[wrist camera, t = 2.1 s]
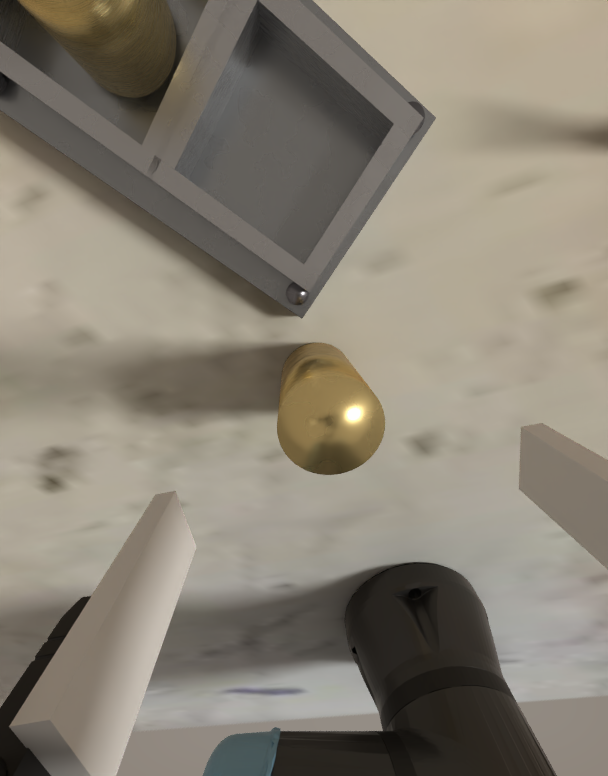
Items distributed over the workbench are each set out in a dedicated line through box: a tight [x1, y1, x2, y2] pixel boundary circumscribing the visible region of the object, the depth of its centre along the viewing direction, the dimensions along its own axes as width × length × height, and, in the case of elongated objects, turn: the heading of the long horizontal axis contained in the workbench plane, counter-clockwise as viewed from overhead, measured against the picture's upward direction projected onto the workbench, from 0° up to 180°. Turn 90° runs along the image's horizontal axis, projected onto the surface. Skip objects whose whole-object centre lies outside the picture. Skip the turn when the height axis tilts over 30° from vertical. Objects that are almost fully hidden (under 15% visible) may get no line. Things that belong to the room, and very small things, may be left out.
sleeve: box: [277, 343, 385, 475], centre depth 22 cm, size 6×6×10 cm
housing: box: [0, 0, 436, 318], centre depth 16 cm, size 15×24×12 cm, turn 56°
